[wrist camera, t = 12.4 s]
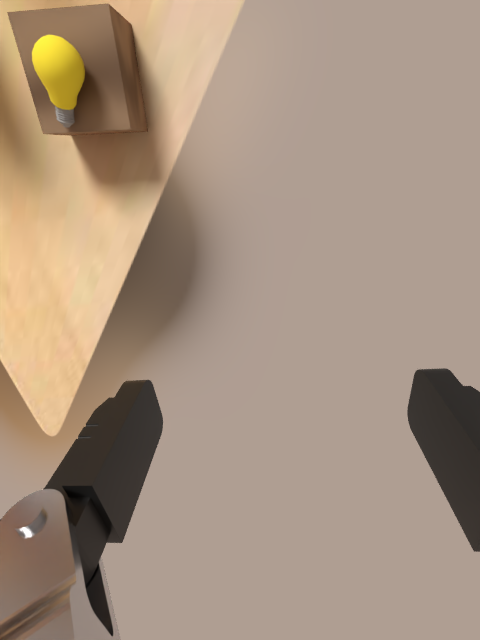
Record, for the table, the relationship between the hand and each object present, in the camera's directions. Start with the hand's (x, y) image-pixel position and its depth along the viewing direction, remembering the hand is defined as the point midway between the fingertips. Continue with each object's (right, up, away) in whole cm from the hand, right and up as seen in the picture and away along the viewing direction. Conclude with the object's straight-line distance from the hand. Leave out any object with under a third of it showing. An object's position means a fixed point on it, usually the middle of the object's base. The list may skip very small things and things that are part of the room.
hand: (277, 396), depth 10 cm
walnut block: (-14, +25, +20) cm, 35 cm away
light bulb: (-15, +22, +16) cm, 31 cm away
